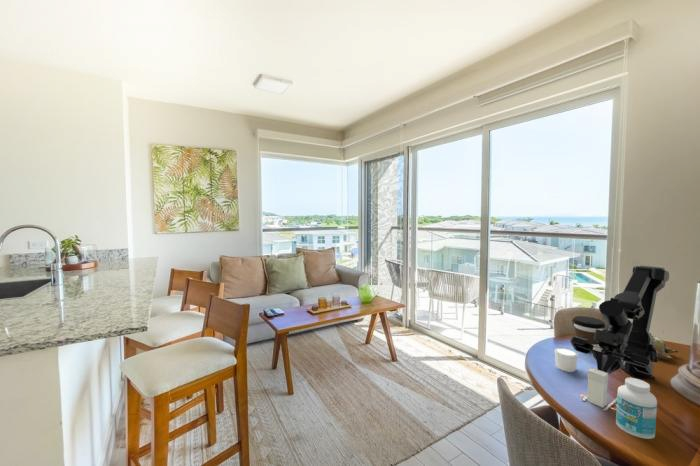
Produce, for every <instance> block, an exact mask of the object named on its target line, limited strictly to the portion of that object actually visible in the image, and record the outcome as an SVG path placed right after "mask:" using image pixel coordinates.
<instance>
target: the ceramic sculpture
mask: <svg viewBox="0 0 700 466" xmlns="http://www.w3.org/2000/svg"><path fill="white" fill-rule="evenodd" d="M649 333H650V332H649ZM650 335H651V337H652V339H653V340H654V346H655V348H656V351H657V353H658V359H662V360H663V359H664V360H675V358H674V357H672V356H671V355H670V354H675V353H679V352H680V351H679V350H674V349H672V348H669V347H667V346H666V343H665V342H664V341H663V339H661V338H660V337H658V336H654V335H652V333H650Z"/></svg>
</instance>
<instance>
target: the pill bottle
mask: <svg viewBox="0 0 700 466" xmlns="http://www.w3.org/2000/svg"><path fill="white" fill-rule="evenodd" d="M650 391H651V385H650V384H649V383H648V382H646V381H644V380H642V379H640V378H636V377H626V378H625V379H624V384H623V385H620V386H618V388H617V395H616V398H617V402H616V404H617V405H616V409H617V410H616V412H615V413H616V414H615V415H616V416H615V424H616V426H617V427H618V428H619V429H621V430H622V431H623V432H625V433H627V434H628V435H631V436H633V437H636V438H641V439H647V440H650V439H654V438H655V437H656V429H657V428H656V426H657V424H656V423H657V412H658V411H657V410H658V408H657V407H658V400H657V398H656V396H655V394H653V393H652V392H650Z"/></svg>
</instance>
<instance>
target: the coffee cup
mask: <svg viewBox="0 0 700 466" xmlns="http://www.w3.org/2000/svg"><path fill="white" fill-rule="evenodd" d="M571 321H572V323H573V324H574V325H573V328H574V334H575V335H574V336H578V337H581V338H585V339H588V341H589V343H590V344H591V345H596V346H599V345H598V344H597V343H596V341H597V340H594V335H595V331H596V329H598V330H601V331H603V329H605V328H606V324H605V321H603V320H601V319H598V318H594V317H592V316H586V315H585V316H582V315H581V316H580V315H578V316H576V315H575V316H574V317H573V318H572V320H571Z"/></svg>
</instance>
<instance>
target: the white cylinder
mask: <svg viewBox="0 0 700 466" xmlns="http://www.w3.org/2000/svg"><path fill="white" fill-rule="evenodd" d="M554 356H555V357H554V359H555V361H554V362H555V366H556V368H557V369H558V370H561V371H564V372H568V373H573V372H575V371H576V370H577V363H578V358H579V354H578V352H577V351H576V350H572V349H570V348H564V347H556V348H555V349H554Z"/></svg>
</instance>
